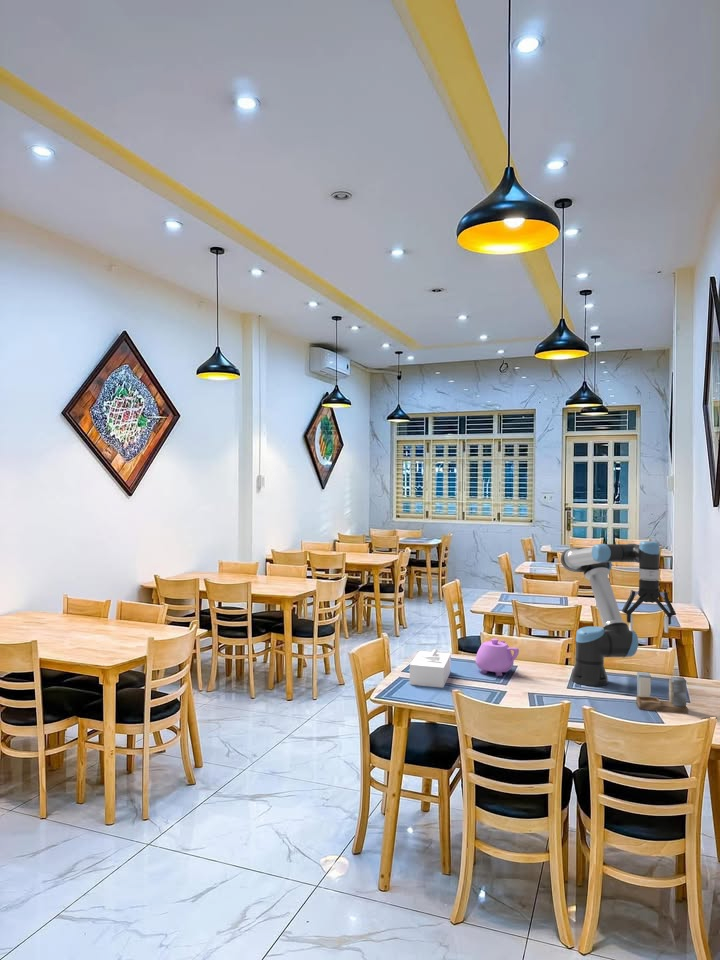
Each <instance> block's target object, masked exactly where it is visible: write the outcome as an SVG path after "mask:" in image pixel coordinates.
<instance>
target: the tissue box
mask: <svg viewBox="0 0 720 960" xmlns="http://www.w3.org/2000/svg"><path fill="white" fill-rule="evenodd" d="M451 659H452V655H451V653H449V652H448V653H446V652H439V650H438V649H437V648H436V649H435V648H434V649H432V651H423V650H422V651H421V650H419V651H418V653H417V654H416V655H415V657H414V658H413V660H412V661H411V662H410V664H409V684H408V685H409V686H410V685H412V686H424V687H432V688H433V687H434V688H442V689H443V688H444V687H445V685H446V683H447V680H448V678H449V676H450V674H451V670H452V669H451V668H452V667H451V664H452V661H451Z"/></svg>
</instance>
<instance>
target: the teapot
mask: <svg viewBox="0 0 720 960" xmlns="http://www.w3.org/2000/svg"><path fill="white" fill-rule="evenodd" d="M512 651H513V654H512ZM519 653H520V649H519V647H509V644H508V643H506V641H505V640H500V641H499V639H498V638H491V639H490V640H487V641H483V642H482V643H481V645H480V646H479V648H478V650H477V652H476V656H475V665H476V666H477V668H478V669H480V670H481V671H480V674H487V673H488V672H492V673H495V676H497V677H502V676H503V673H509V671H510V670H511V669H512V667H513V666H514V662H515V660H516V659H517V658H518V656H519Z"/></svg>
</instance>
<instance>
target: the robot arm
mask: <svg viewBox="0 0 720 960" xmlns="http://www.w3.org/2000/svg"><path fill="white" fill-rule="evenodd" d="M660 553H661V551H660V543H659V542H658V541H651V540H649V541H648V540H642V541H640V542H639V544H637V543H627V544H624V543H623V544H622V543H618V544H617V543H616V544H614V543H613V544H612V543H599V544H597V543H596V544H594V545H593V546H590V547H570V548H568V549H565V550H564V551H563V552H562V553H561V555H560V563H561V565H562V566H563V568H565V570H567V571H569V572H572V573H583V575H584V578H585V579H586V580H588V581H589V584H590V587H591V590H592V594H593V597H594V600H595V603H596V606H597V610H598V613H599V616H600V620H601V623H602V626H597V625H595V626H592V625H591V626H583V627H581V628H578V629H577V630H576V636H575V663H574V666H573V670H572V671H571V680H570V681H572V682H574V683H576V684H579V685H584V686H587V687H588V686H591V687H603V686H606V685H608V683H609V678H608V673H607V672H606V667H605V665H604V664H605V662H604V661H605V659H604V658H631V657H634V656H635V654H637V651H638V647H639V638H638V634H637V633H636V631H635V630H634V616H633V613H634V611H635V610H637V608H638V607H639V606H640V605H641V604H643V603H656V605H657V606H658V607H659V608H660V609H661V610H662V612H663V613H664V614H665V615H664V619H663V620H664V622H663V624H664V626H663V629H664V630H663V631H664V633H665V634H669V626H670V625H672V617H673V616H676V615H677V613H676V610H675V609H674V607H673V605H672V602H671V601H670V599H669V595H668V592H666V591H662V592H661V591H660V581H659V579H660V560H661V559H660V558H661V557H660V555H661V554H660ZM615 562H616V563H637V564H638V563H639V564H638V565H639V566H638V567H639V569H638V578H639V580H638V591H637V590H633V589H631V590H630V592H629V593H630V594H629V597H628V598H627V600H626V602H625V604H624V606H623V608H622V609H621V612H622V613H624V614H625V615H626V622H624V621H623V617H622V615H621V612H620V609H619V606H618V603H617V600H616V597H615V593H614V590H613V587H612V585H611V582H610V578H609V575H610V572H611V570H612V567H613V564H612V563H615ZM637 595H638V598H637V599H636V601H635V602H634V603H633V601H634V599H635V597H636V596H637ZM660 597H662V598H663V600H664V602H665V604H666V606H667V608H668V609H667V608H666V607H665V606H664V604H662V602H661V601H660V600H659V598H660ZM632 603H633V604H632ZM628 623H629V624H628Z"/></svg>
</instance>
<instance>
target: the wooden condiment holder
mask: <svg viewBox="0 0 720 960" xmlns="http://www.w3.org/2000/svg"><path fill="white" fill-rule="evenodd" d="M635 702H636V705H638V706H637V708H638V709H639V710H644V709H645V710H647V711H656V712H667V713H677V714H688V713H689V711H688V710H689V709H688V707H687V680H686V678H685V677H682V676H671V677H670V678H669V679H668V700H660V699H659V698H658V697H654V696H651V697H645V696H637V695H636V701H635Z"/></svg>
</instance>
